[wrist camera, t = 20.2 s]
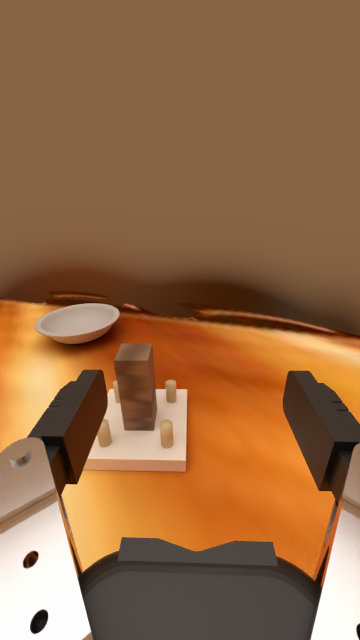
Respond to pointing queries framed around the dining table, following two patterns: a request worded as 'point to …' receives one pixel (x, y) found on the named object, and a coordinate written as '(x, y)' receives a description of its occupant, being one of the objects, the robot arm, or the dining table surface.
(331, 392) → the robot arm
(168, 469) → the peg stand
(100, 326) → the soup bowl
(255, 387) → the dining table surface
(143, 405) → the walnut post
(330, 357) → the dining table surface
